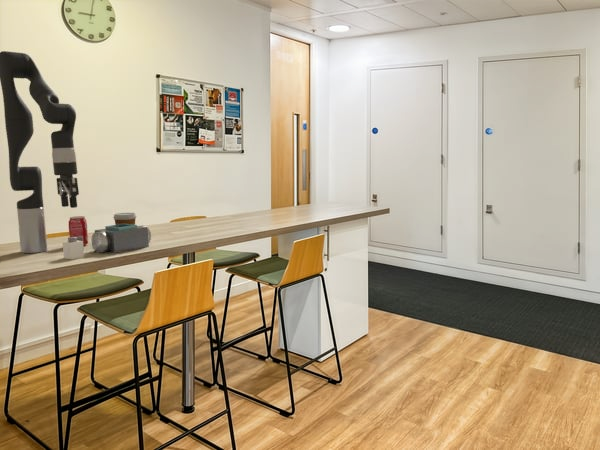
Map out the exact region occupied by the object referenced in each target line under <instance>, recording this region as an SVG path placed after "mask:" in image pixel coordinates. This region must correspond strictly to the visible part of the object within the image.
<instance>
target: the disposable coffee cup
mask: <svg viewBox="0 0 600 450" xmlns="http://www.w3.org/2000/svg"><path fill="white" fill-rule="evenodd" d="M112 218H113V220H114V225H118V224H132V225H136V218H137V215H136V212H117V213H114V214H113V217H112Z"/></svg>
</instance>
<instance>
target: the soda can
mask: <svg viewBox="0 0 600 450" xmlns="http://www.w3.org/2000/svg"><path fill="white" fill-rule="evenodd" d="M88 231H89V230H88V221H87V219H86V218H85V216H83V215H82V216H79V215H78V216H77V215H76V216H70V217H69V220H68V236H69V237H77V240H78V241H83V247H85V246H87V244H89V235H88V234H89V232H88ZM69 237H68V238H69Z"/></svg>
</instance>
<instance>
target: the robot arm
mask: <svg viewBox="0 0 600 450" xmlns="http://www.w3.org/2000/svg"><path fill="white" fill-rule="evenodd" d="M14 79H21V80H22V79H23V80H24V79H27V80H28V81H30V83H29V85H28V90H29V94H30V97H31V98H32V99H33V100H34V102H35V103H36V104H37V105H38V107H39V109H40V112H41V116H42V118H43V120H44V121H45V122H47V123H48V124H52V125H61V128H60V129H59V130H57V131H56V130H55V131H53V132H51V134H50V139H51V149H52V151H51V157H52V166H53V175H54V176H59V177H56V190H57V194H58V195H59V197H60V201H61V207H64V208H65V207H67V208H68V207H70V208H71V209H73V208H77V207H78V200H77V197H78V195H79V194H80V191H79V184H78V183H79V182H78V178H77V177H73V175H78V163H77V155H76V151H75V145H74V132H75V131H74V130H75V125H76V119H77V112H76V110H75V108H74V107H73V106H72V105H71V104H69V103H60V98H59V97H58V95H57V94H56V93H55V91H53V90H52V88H51V87H50V86H49V85H48V83H47V82H46V81H45V80H44V78H43V75H42V74H41V72H40V70H39V68H38V67H37V65H36V63H35V61H34V59H33V58H32V57H31V56H30V55H29V54H27V53H25V52H24V53H23V52H15V51H5V50H2V51H0V86H1V91H2V99H3V110H4V123H5V124H4V125H5V133H6V140H7V147H8V164H9V165H8V168H9V171H8V172H9V182H10V186H11V189H12V190H13V192H22V191H25V192H26V191H28V192H29V191H32V194H30V195H29V196H27V197H25V198H23V199H20V200H18V201H16V210H17V211H16V213H17V221H18V234H19V246H20V252H21V253H22V254H35V253H37V254H38V253H41V252H43V253H44V252H46V251H48V242H47V241H48V240H47V239H48V238H47V232H46V231H47V230H46V220H45V219H46V218H45V217H46V216H45V209H44V208H45V207H44V206H45V205H44V197H43V175H42V171H41V168H40V167H39V166H20V165H19V163H20V159H21V156H22V154H23V151H25V150H24V149H26V147H27V145H28V144H29V142H30V140H31V139H32V137H33V136H34V121H33V119H34V118H33V114H32V112H31V110H30V109H29V107H28V106H27V104H26V103H25V101H24V100H23V99H22V98H21V97H22V96H20V94H19V93H18V90H17V89H16V84H15V80H14Z"/></svg>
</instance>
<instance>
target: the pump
mask: <svg viewBox="0 0 600 450" xmlns="http://www.w3.org/2000/svg"><path fill="white" fill-rule="evenodd" d="M62 252H63V254H62V255H63V259H67V260H71V259H72V260H76V259H82V258H85V253H84V252H85V250H84V246H83V241H78V240H77V237H68V238H67V241H62Z"/></svg>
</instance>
